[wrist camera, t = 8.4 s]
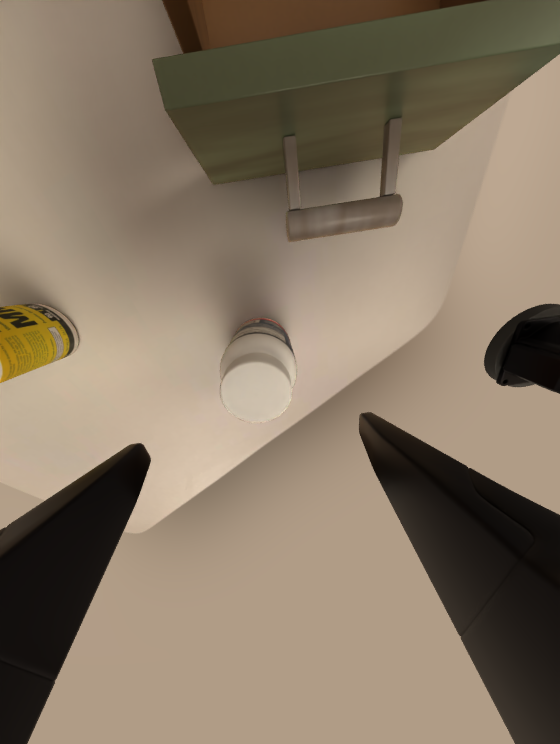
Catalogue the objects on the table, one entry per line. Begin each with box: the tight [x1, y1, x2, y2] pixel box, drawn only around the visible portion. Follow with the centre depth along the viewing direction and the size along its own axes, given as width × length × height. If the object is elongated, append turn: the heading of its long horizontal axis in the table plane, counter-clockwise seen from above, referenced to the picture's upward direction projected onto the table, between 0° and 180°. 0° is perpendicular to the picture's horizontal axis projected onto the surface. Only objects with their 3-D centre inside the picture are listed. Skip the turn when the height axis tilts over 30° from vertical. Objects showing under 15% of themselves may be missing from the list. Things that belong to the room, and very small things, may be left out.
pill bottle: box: [220, 318, 297, 423], centre depth 15 cm, size 5×5×9 cm
